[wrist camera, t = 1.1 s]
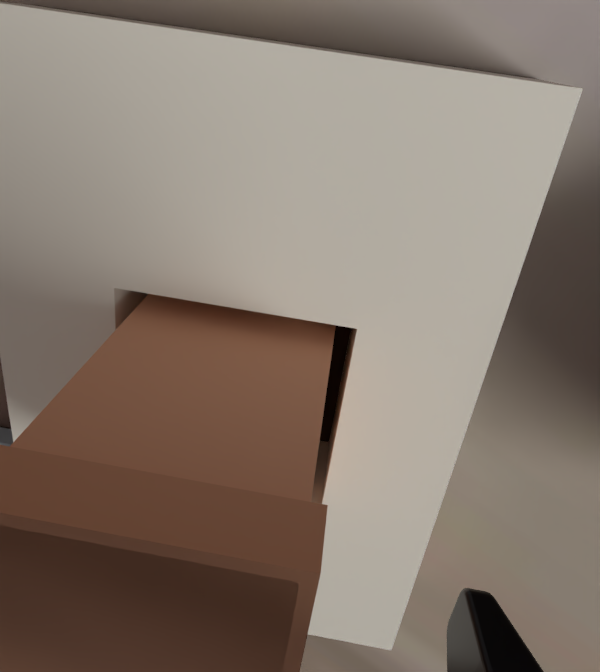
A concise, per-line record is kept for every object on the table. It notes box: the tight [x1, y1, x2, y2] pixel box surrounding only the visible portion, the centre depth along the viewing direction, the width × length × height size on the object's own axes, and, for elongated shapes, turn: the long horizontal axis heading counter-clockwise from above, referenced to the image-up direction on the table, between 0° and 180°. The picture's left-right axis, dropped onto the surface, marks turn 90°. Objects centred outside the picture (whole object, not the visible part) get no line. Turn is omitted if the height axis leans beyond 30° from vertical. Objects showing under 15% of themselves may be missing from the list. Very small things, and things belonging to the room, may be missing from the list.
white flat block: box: [0, 2, 583, 650], centre depth 13 cm, size 14×10×2 cm
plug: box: [0, 294, 336, 672], centre depth 11 cm, size 4×4×8 cm
